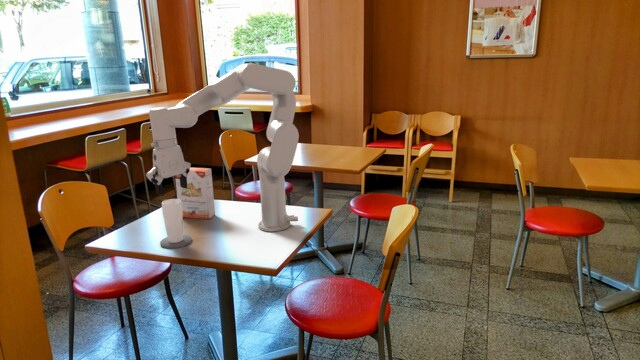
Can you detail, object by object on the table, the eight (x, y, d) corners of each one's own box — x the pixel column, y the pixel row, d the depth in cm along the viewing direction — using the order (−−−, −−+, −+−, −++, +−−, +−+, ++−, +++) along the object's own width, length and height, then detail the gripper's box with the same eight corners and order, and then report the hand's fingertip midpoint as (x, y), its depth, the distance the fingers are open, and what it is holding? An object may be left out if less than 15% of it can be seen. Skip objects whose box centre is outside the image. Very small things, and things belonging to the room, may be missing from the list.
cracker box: (178, 217, 187) (173, 169, 182) (186, 213, 193) (181, 166, 187) (209, 219, 184) (204, 171, 178) (215, 215, 189) (211, 167, 184)
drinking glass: (186, 242, 158) (182, 202, 155) (166, 245, 156) (161, 205, 152) (184, 236, 165) (180, 197, 161) (165, 238, 162) (161, 199, 159)
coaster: (193, 235, 167) (193, 233, 167) (189, 247, 156) (189, 245, 156) (163, 238, 165) (163, 236, 165) (157, 249, 155) (157, 247, 155)
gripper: (149, 149, 143) (157, 199, 147) (193, 139, 156) (199, 186, 161) (136, 147, 147) (144, 196, 152) (180, 138, 160) (186, 183, 165)
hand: (172, 191), depth 156 cm, fingers open, 9 cm apart
